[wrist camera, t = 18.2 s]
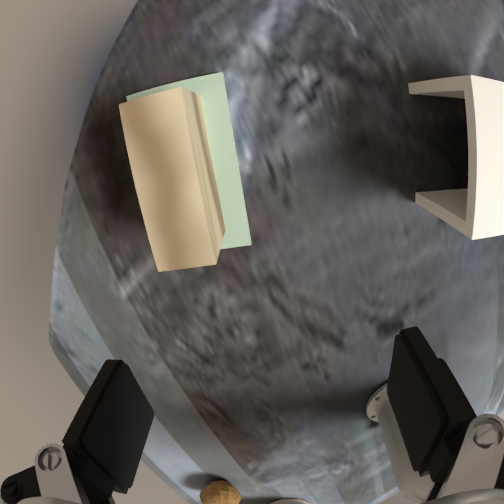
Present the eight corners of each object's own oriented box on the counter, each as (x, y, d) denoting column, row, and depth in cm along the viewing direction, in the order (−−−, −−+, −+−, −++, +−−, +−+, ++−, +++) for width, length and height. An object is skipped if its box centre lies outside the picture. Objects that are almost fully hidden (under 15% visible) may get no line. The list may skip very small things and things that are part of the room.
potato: (248, 476, 57) (247, 504, 50) (233, 493, 62) (232, 517, 55) (207, 470, 56) (203, 498, 49) (198, 487, 61) (195, 511, 54)
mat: (251, 242, 33) (251, 244, 32) (163, 254, 34) (162, 257, 33) (223, 73, 26) (222, 72, 25) (128, 96, 27) (126, 96, 26)
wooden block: (200, 95, 26) (181, 86, 19) (225, 230, 32) (216, 264, 24) (152, 107, 27) (118, 104, 19) (179, 236, 32) (158, 271, 25)
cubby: (493, 195, 30) (551, 225, 19) (415, 202, 31) (471, 240, 20) (491, 93, 24) (555, 98, 14) (407, 83, 25) (470, 75, 15)
